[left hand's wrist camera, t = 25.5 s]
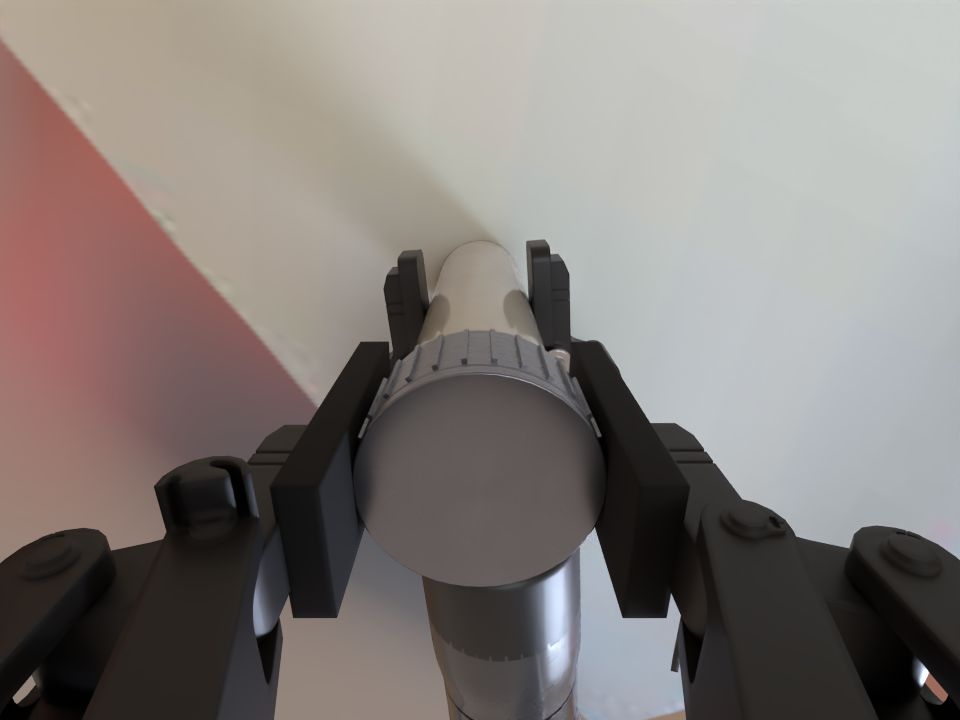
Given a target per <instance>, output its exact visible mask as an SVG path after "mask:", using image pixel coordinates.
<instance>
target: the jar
mask: <svg viewBox="0 0 960 720" xmlns="http://www.w3.org/2000/svg"><path fill="white" fill-rule="evenodd" d="M464 329H469V331H474V330H485V331H490V329H495V331H497V332H502V333H508V334H511V335H514V336H515V335H516V334H519V335H521V338H523V339H526V340H528V341H530V342H532V343H534V344H536V345H538V346H539V344H541V345H543V342H542V339H541V336H540V333H539V330H538V327H537V324H536V321H535V318H534V315H533V312H532V309H531V306H530V303H529V300H528V297H527V294H526V291H525V288H524V285H523V282H522V279H521V276H520V273H519V270H518V267H517V265H516V262H515V261H514V259H513V258H512V256H511V255H510V254H509V253H508V252H507V251H506V250H505V249H503V248H502V247H500V246H498V245H497V244H494V243H491V242H487V241H473V242H469V243H466V244H463V245H461V246H459V247H458V248H456V249H455V250H454V251H453V252H451V254H450V255H449V256H448V257H447V259H446V260H445V262H444V264H443V266H442V269H441V272H440V275H439V278H438V281H437V284H436V287H435V290H434V293H433V296H432V299H431V302H430V305H429V308H428V311H427V314H426V317H425V320H424V323H423V326H422V329H421V332H420V335H419V338H418V341H417V344H416V346H417V345H420V346H422V345H424V344H426V343H428V342H430V341H432V340H434V339H436V338H438V335H441V334H443V336H445V335H448V334H452V333H457V332H463V331H464ZM543 346H544V345H543ZM544 349H545V348H544Z"/></svg>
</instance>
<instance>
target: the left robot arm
mask: <svg viewBox="0 0 960 720" xmlns="http://www.w3.org/2000/svg"><path fill="white" fill-rule="evenodd" d="M390 374H391V369H390V355H389V342H360V344H359V345H358V347H357V348H356V350H355V352H354V353H353V355H352V356H351V358H350V360H349V361H348V363H347V364H346V366H345V367H344V369H343V371H342V372H341V374H340V375H339V377H338V379H337V380H336V382H335V383H334V385H333V386H332V388H331V390H330V391H329V393H328V394H327V396H326V398H325V399H324V401H323V402H322V404H321V405H320V407H319V409H318V410H317V412H316V413H315V415H314V417H313V418H312V420H311V421H310V423H309V424H308V425H284V426H282V427H281V428H279V429H278V430H276V431H275V432H273V433H272V434H270V435H269V436H267V437H266V438H265V439H264V441H263V442H262V444H261V445H260V446H259V447H258V449H257V450H256V454H253V455H252V457H251V458H250V459H249V461H248V462H247V463H246V462H245V461H244V460H243V459H240V458H236V457H231V456H213V457H208V458H203V459H199V460H194V461H192V462H189V463H187V464H184V465H182V466H179V467H177V468H175V469H174V470H172V471H170V472H169V473H167V474H166V475H164V476H163V477H162V478H161V479H160V480H159V481H158V482H157V484H156V485H155V486H154V489H155V492H156V496H157V499H158V503H159V506H160V510H161V513H162V517H163V521H164V524H165V528H166V531H167V532H166V534H165V537H164V539H162V540H158V541H155V542H151V543H146V544H141V545H136V546H132V547H127V548H122V549H117V550H113V551H111V550H110V547H109V544H108V541H107V538H106V536H105V535H104V534H103V533H101V532H100V531H99V530H95V529H88V528H79V529H71V530H64V531H60V532H56V533H54V534H50V535H47V536H44V537H41V538H40V539H38V540H36V541H34V542H32V543H30V544H28V545H26V546H24V547H22V548H20V549H19V550H18V551H16V552H15V553H13V554H12V555H10V556H9V557H8V558H6V559H5V560H4V561H2V562H1V563H0V720H274V713H275V705H276V696H277V687H278V678H279V669H280V660H281V651H282V642H283V636H282V629H281V623H280V618H279V616H280V614H281V611H282V609H283V607H284V604H285V602H286V600H287V598H288V595H289V598H290V603H291V608H292V614H293V618H337V616H338V613H339V609H340V606H341V603H342V600H343V596H344V593H345V590H346V587H347V583H348V580H349V577H350V574H351V570H352V567H353V564H354V561H355V557H356V554H357V551H358V548H359V544H360V541H361V538H362V535H363V531H364V528H365V525H364V524H363V522H362V520H361V518H360V516H359V513H358V510H357V507H356V504H355V499H354V491H353V481H352V470H353V462H354V458H355V454H356V451H357V447H358V445H359V442H357V437H358V435H359V433H360V430H361V428H362V426H363V423H364V421H365V419H366V416H367V414H368V412H369V409H370V407H371V405H372V402H373V400H374V398H375V396H376V394H377V391H378V389H379V387H380V384H381V382H382V380H383V378H386V379H388V377H389V375H390ZM569 374H570V376H571V377H572V378H574V377H576V379H577V381H578V383H579V385H580V388H581V390H582V392H583V394H584V397H585V398H586V400H587V403H588V405H589V407H590V410H591V412H592V414H593V417H594V419H595V421H596V424H597V426H598V428H599V431H600V433H601V435H602V438H603V441H600V443H601V445H602V448H603V452H604V455H605V458H606V464H607V471H608V477H607V487H606V496H605V503H604V506H603V509H602V512H601V515H600V517H599V519H598V521H597V523H596V525H595V529H596V532H597V536H598V539H599V542H600V545H601V549H602V552H603V555H604V558H605V562H606V565H607V568H608V571H609V575H610V578H611V581H612V584H613V588H614V591H615V594H616V597H617V601H618V604H619V607H620V610H621V614H622V617H623V618H667V612H668V607H669V601H670V596H671V593H672V596H673V598H674V600H675V603H676V605H677V607H678V609H679V612H680V614H681V618H680V623H679V628H678V633H677V639H676V644H675V649H674V654H673V659H672V666H671V671H674V672H678V669H679V664H680V668H681V677H682V685H683V694H684V703H685V712H686V720H960V560H959V559H958V558H957V557H955V556H954V555H952V554H951V553H949V552H948V551H947V550H945V549H944V548H942V547H941V546H939V545H938V544H936V543H934V542H932V541H930V540H927V539H925V538H923V537H922V536H920V535H918V534H915V533H912V532H909V531H908V532H907V531H905V530H902V529H898V528H892V527H884V526H870V527H863V528H861V529H860V530H859V531H857V532H856V533H855V534H854V536H853V539H852V542H851V545H850V548H844V547H839V546H834V545H830V544H825V543H820V542H815V541H811V540H806V539H803V538H799V537H796V536H795V533H794V531H793V530H792V528H791V527H790V526H789V524H788V523H787V522H786V520H784V519H783V518H782V517H780V516H779V515H778V514H776V513H775V512H774V511H772V510H770V509H768V508H766V507H764V506H762V505H759V504H757V503H755V502H751V501H747V500H743V499H742V498H741V497H740V496H739V495H738V493H737V492H736V491H735V489H734V488H733V487H732V485H731V484H730V483H729V481H728V480H727V479H726V477H725V476H724V475H723V473H722V472H721V471H720V469H719V468H718V467H717V465H716V464H713V460H712V459H711V458H710V456H709V455H708V454H707V452H704V448H703V447H702V446H701V444H700V443H699V442H698V440H697V439H696V438H695V436H694V435H693V434H691V433H689V432H688V431H686V430H685V429H683V428H682V427H680V426H679V425H677V424H676V423H650V422H649V420H648V419H647V417H646V416H645V414H644V412H643V411H642V409H641V408H640V406H639V404H638V403H637V401H636V400H635V398H634V397H633V395H632V393H631V392H630V390H629V389H628V387H627V385H626V384H625V382H624V381H623V379H622V378H621V376H620V374H619V373H618V371H617V370H616V368H615V366H614V365H613V363H612V362H611V360H610V359H609V357H608V355H607V354H606V352H605V351H604V349H603V347H602V346H601V344H600V343H599V342H571V350H570V364H569ZM929 673H930V674H931V675H932V676H933V677H934V678H935V680H936V681H937V682H938V683H939V684H940V685H941V687H942V688H943V689H944V690H945V691H946V692H947V694H948V697H947V699H946V701H945V702H943V701H941V700H940V699H939V698H938V697H937V696H936V695H935V694H934V693H933V692H932V691H931V690H930V689H929V687H928V686H927V685H926V684H925V680H926V678H927V676H928V674H929ZM31 675H32V677H33V679H34V681H35V683H36V685H35V686H34V688H33V689H32V690H31V691H30V693H29V694H28V695H27V696H26V697H25V698H24V699H22V700H21V701H20V702H19V703H18V704H16V703H15V702H14V700H13V698H12V697H13V696H14V695H15V694H16V692H17V691H18V690H19V689H20V688H21V687H22V685H23V684H24V683H25V682H26V681H27V680H28V678H29V677H30V676H31Z"/></svg>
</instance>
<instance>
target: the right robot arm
mask: <svg viewBox="0 0 960 720" xmlns="http://www.w3.org/2000/svg"><path fill="white" fill-rule="evenodd" d="M526 252H527V272H528V293H529V303H530V306H531V309H532V312H533V315H534V318H535V321H536V324H537V327H538V330H539V333H540V336H541V339H542V342H543V345H544V348H545V350H546V351H547V352H548V353H550V354H551V355H552V356H553V357H554V358H556V359H557V360H559V359H561V360H562V361H563V363H564V366H565V368H566V370H567V371H568V373H569V364H570V350H571V342H586V341H582V340H578V339H575V338H573V337H572V336H571V335H570V291H569V288H570V286H569V272H568V270H567V268H566V265H565V263H564V261H563V260H562V258H561V257H560V256H559V255H558V254H550V247H549V245H548V243H547V242H546V241H545V240H533V241H527V242H526ZM384 295H385V301H386V307H387V313H388V320H389V326H390V333H391V339H392V346H393V351H392V352H391V353H389V355H390V369H391V372H392V371H393V369H394V367H395V364H396V362H397V361H398V360H399V359H400V360H401V361H402V360H403V359H404V358H405V357H407V356H408V355H409V354H410V353H411V352H413V351H414V349H415V346H416V344H417V341H418V338H419V335H420V332H421V329H422V326H423V323H424V320H425V317H426V314H427V311H428V308H429V299H428V291H427V283H426V275H425V267H424V259H423V253H422V250H409V251H403V252H402V253H401V255H400V256H399V257H398V267H393V268H392V269H391V270H390V272H389V273H388V274H387V277H386V281H385V285H384ZM587 342H598V341H595V340H591V341H587ZM599 343H600V342H599ZM600 344H601V346H602V347H603V349H604V351H605V352H606V354H607V355H608V357H609V359H610V360H611V362H612V363H613V365H614V366H615V368H616V370H617V371H618V373H619V374H620V371H619V369H618V367H617V366H616V364H615V362H614V361H613V359H612V358H611V356H610V355H609V353H608V352H607V350H606V349H605V347H604V346H603V344H602V343H600ZM620 376H621V374H620ZM621 378H622V377H621ZM422 579H423V585H424V591H425V597H426V604H427V609H428V616H429V622H430V628H431V634H432V641H433V645H434V650H435V654H436V658H437V661H438V664H439V667H440V669H441V672H442V675H443V678H444V682H445V689H446V696H447V702H448V708H449V716H450V720H581V719H580V716H579V713H578V709H577V672H576V666H577V660H578V656H579V649H580V639H581V606H580V547H579V548H578V549H577V550H576V551H575V552H574V553H572V554H571V555H570V556H569V557H568V558H566V559H565V560H564V561H562V562H561V563H559V564H558V565H556V566H555V567H553V568H551V569H549V570H547V571H545V572H544V573H542V574H540V575H537V576H534V577H532V578H529V579H526V580H523V581H519V582H515V583H512V584H506V585H500V586H488V587H471V586H460V585H454V584H448V583H444V582H440V581H436V580H433V579H431V578H428V577H425V576H423V575H422Z"/></svg>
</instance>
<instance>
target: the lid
mask: <svg viewBox="0 0 960 720" xmlns="http://www.w3.org/2000/svg"><path fill="white" fill-rule="evenodd" d="M600 441H603V438H602V435H601V433H600V431H599V428H598V426H597V424H596V421H595V419H594V417H593V414H592V412H591V410H590V407H589V405H588V403H587V400H586V398H585V397H584V394H583V392H582V390H581V388H580V385H579V383H578V381H577V379H576V377H574V378H572V377H571V376H570V374H569V373H568V371H567V370H566V368H565V366H564V363H563V361H562V360H561V359H559V360H557V359H556V358H554V357H553V356H552V355H551V354H550V353H548V352H547V351H546V350H545V349H544V346H543V345H541V344H539V346H538V345H536V344H534V343H532V342H530V341H528V340H526V339H523V338H521V335H519V334H516V335H515V336H514V335H511V334H508V333H502V332H497V331H495V329H490V331H485V330H474V331H469V329H464V331H463V332H457V333H452V334H448V335H445V336H443V334H441V335H438V338H436V339H434V340H432V341H430V342H428V343H426V344H424V345H422V346H420V345H417V346H415V349H414V351H413V352H411V353H410V354H409V355H408V356H407V357H405V358H404V359H403V360H402V361H401V360H400V359H399V360H398V361H397V362H396V364H395V367H394V369H393V371H392V372H391V374H390V375H389V377H388V379H386V378H383V380H382V382H381V384H380V387H379V389H378V391H377V394H376V396H375V398H374V400H373V402H372V405H371V407H370V409H369V412H368V414H367V416H366V419H365V421H364V423H363V426H362V428H361V430H360V433H359V435H358V437H357V442H359V445H358V447H357V451H356V454H355V458H354V462H353V470H352V481H353V491H354V499H355V504H356V507H357V510H358V513H359V516H360V518H361V520H362V522H363V524H364V525H365V527H366V529H367V531H368V532H369V533H370V535H371V536H372V538H373V539H374V540H375V542H376V543H377V544H378V545H379V546H380V547H381V548H382V549H383V550H384V551H385V552H386V553H387V554H389V555H390V556H391V557H392V558H393V559H395V560H396V561H397V562H399V563H400V564H402V565H404V566H405V567H407V568H408V569H410V570H412V571H414V572H416V573H418V574H420V575H423V576H425V577H428V578H431V579H433V580H436V581H440V582H444V583H448V584H454V585H460V586H471V587H488V586H500V585H506V584H512V583H515V582H519V581H523V580H526V579H529V578H532V577H534V576H537V575H540V574H542V573H544V572H545V571H547V570H549V569H551V568H553V567H555V566H556V565H558V564H559V563H561V562H562V561H564V560H565V559H566V558H568V557H569V556H570V555H571V554H572V553H574V552H575V551H576V550H577V549H578V548H579V547H580V546H581V544H582V543H583V542H584V541H585V540H586V539H587V537H588V536H589V534H590V533H591V532H592V530H593V529H594V527H595V525H596V523H597V521H598V519H599V517H600V515H601V512H602V509H603V506H604V503H605V496H606V487H607V477H608V471H607V464H606V458H605V455H604V452H603V448H602V445H601V443H600Z"/></svg>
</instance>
